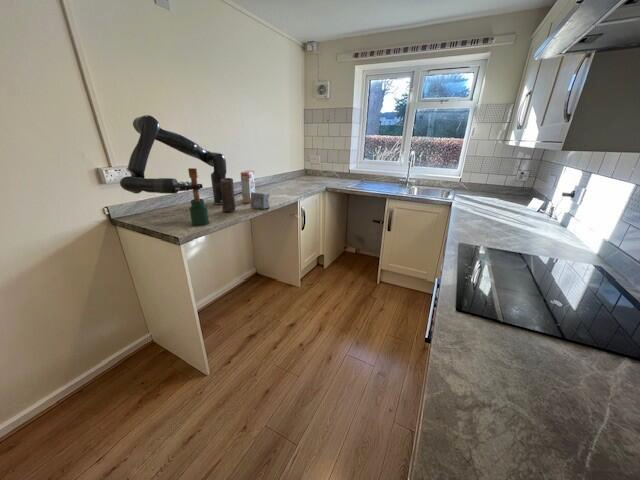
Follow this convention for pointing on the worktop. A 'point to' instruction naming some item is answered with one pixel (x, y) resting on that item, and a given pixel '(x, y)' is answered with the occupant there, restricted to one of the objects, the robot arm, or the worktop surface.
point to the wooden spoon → (194, 182)
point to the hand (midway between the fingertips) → (200, 186)
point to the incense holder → (259, 200)
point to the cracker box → (247, 185)
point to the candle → (227, 194)
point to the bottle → (199, 213)
